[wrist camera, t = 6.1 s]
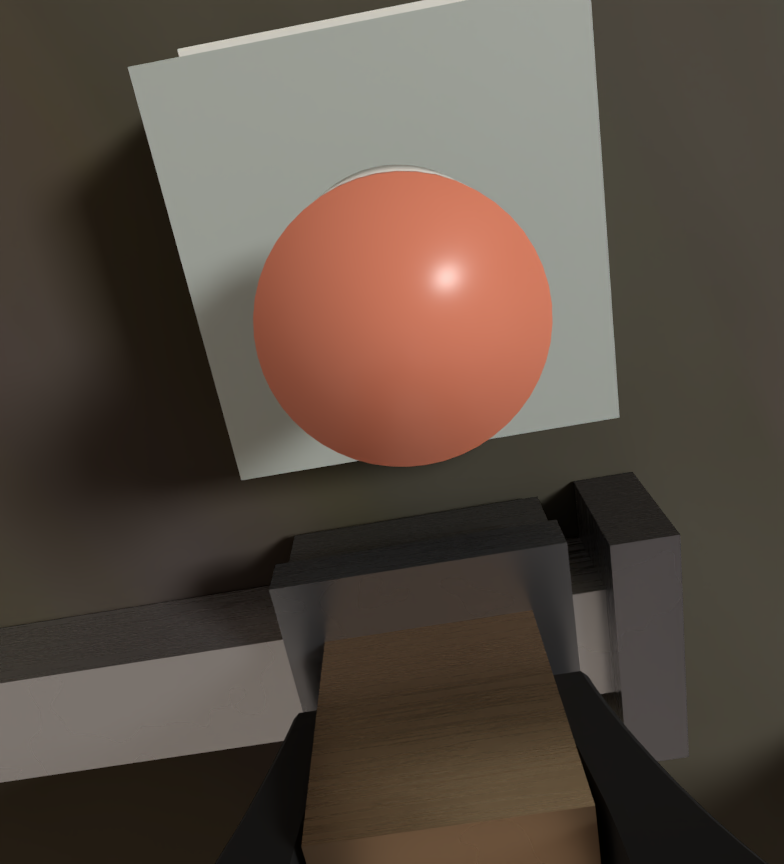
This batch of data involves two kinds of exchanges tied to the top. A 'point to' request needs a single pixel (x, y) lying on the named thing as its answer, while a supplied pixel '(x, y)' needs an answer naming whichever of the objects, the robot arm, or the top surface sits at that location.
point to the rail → (271, 673)
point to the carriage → (438, 689)
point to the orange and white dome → (402, 317)
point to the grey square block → (377, 146)
